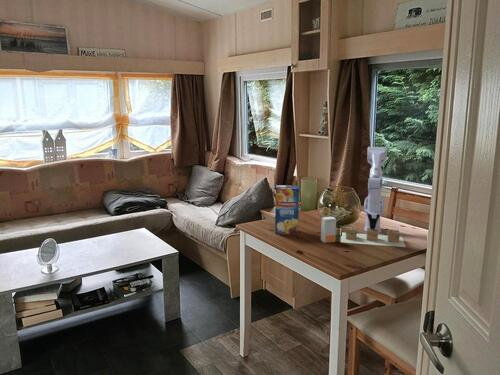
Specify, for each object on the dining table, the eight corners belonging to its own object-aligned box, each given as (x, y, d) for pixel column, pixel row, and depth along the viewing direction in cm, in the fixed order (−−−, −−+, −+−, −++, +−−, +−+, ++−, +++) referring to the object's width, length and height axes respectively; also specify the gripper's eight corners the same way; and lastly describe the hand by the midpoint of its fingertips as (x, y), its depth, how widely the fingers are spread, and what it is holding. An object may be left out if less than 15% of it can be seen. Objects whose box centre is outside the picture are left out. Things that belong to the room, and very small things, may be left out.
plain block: (366, 237, 217) (367, 227, 216) (376, 238, 216) (377, 228, 215) (366, 240, 213) (367, 230, 212) (377, 241, 211) (378, 231, 210)
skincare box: (324, 243, 210) (324, 219, 207) (320, 240, 214) (321, 217, 211) (335, 242, 211) (336, 218, 209) (331, 239, 215) (332, 216, 213)
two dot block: (346, 236, 220) (346, 226, 219) (356, 236, 218) (356, 226, 217) (345, 239, 215) (346, 229, 214) (356, 239, 214) (356, 229, 212)
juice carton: (298, 229, 231) (299, 185, 226) (298, 234, 224) (299, 188, 219) (275, 229, 232) (276, 185, 227) (274, 233, 225) (275, 188, 220)
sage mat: (341, 233, 225) (341, 232, 225) (402, 237, 219) (402, 236, 219) (340, 243, 210) (340, 242, 210) (405, 247, 204) (405, 246, 203)
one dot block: (387, 238, 215) (388, 228, 214) (397, 239, 214) (398, 229, 213) (388, 242, 210) (388, 231, 209) (399, 242, 209) (399, 232, 208)
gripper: (365, 198, 218) (363, 224, 221) (366, 205, 205) (364, 232, 207) (379, 198, 217) (378, 224, 220) (381, 205, 203) (379, 233, 206)
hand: (372, 228), depth 213 cm, fingers closed
